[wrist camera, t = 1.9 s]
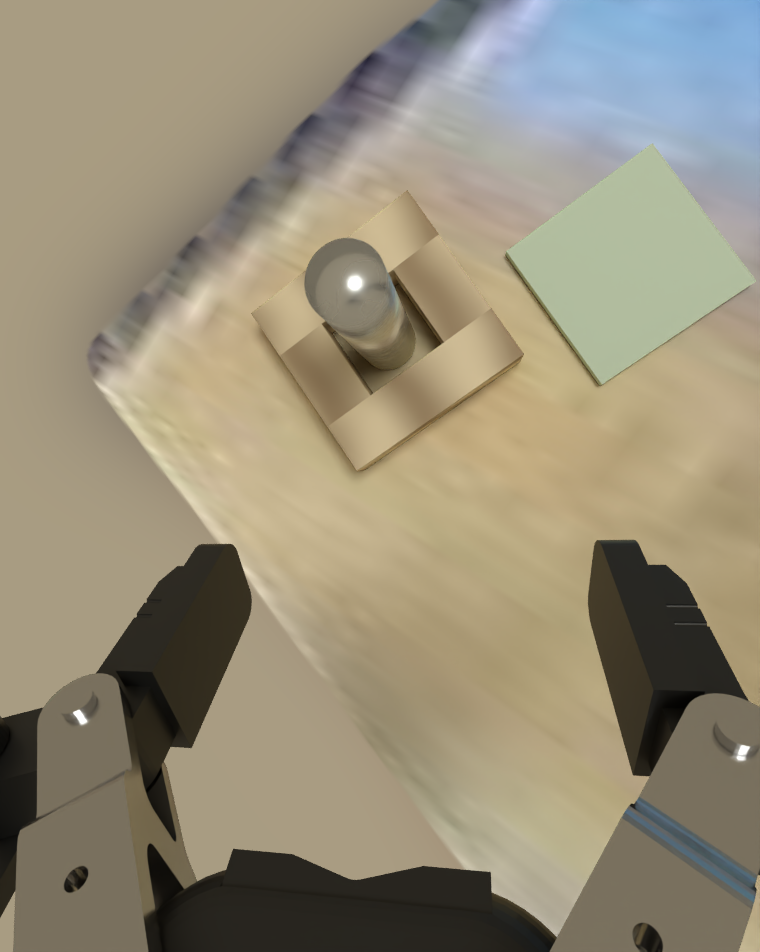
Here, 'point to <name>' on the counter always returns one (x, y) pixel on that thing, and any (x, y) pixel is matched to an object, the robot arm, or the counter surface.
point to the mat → (628, 265)
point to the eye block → (428, 380)
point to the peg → (360, 301)
